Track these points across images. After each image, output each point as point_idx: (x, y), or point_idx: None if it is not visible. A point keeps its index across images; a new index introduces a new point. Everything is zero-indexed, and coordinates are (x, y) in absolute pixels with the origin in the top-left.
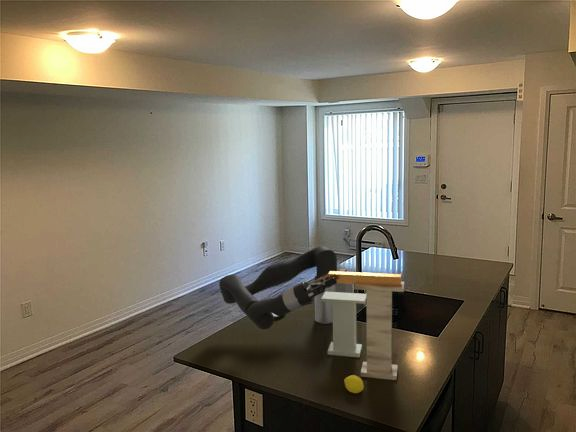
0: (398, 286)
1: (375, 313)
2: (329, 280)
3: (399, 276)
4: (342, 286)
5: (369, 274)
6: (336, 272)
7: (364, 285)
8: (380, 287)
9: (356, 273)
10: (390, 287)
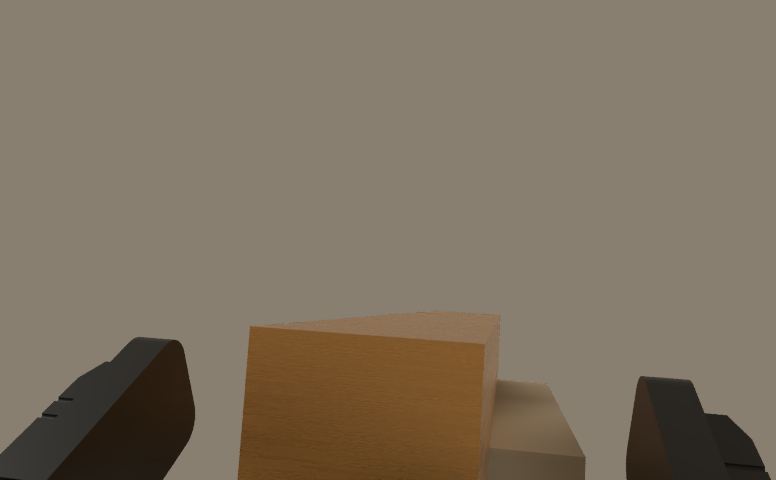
0: (498, 383)
1: None
2: (717, 463)
3: (488, 314)
4: None
5: (458, 317)
6: (376, 327)
7: (522, 427)
8: (552, 404)
9: (429, 319)
10: (533, 392)
